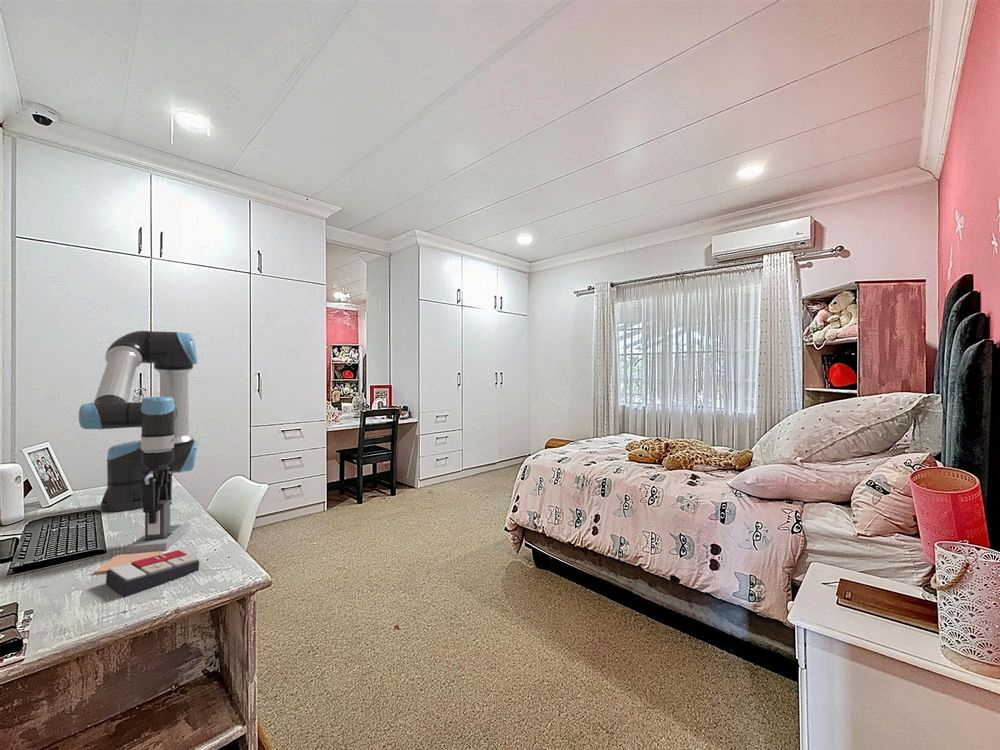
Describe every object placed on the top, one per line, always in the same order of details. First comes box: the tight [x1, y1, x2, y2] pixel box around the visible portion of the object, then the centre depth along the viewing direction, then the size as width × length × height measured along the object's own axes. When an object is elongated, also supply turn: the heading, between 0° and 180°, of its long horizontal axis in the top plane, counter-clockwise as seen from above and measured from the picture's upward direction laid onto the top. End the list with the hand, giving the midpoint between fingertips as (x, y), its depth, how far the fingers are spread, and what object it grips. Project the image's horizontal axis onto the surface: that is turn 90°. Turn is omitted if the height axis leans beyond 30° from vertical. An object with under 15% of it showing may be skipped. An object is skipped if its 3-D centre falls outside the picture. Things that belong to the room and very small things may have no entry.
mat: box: [93, 551, 162, 575], centre depth 113 cm, size 10×10×1 cm
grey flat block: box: [127, 523, 191, 554], centre depth 127 cm, size 16×9×2 cm, turn 16°
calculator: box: [105, 550, 200, 598], centre depth 105 cm, size 11×4×15 cm
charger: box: [144, 500, 171, 541], centre depth 125 cm, size 4×4×12 cm
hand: (157, 530), depth 125 cm, fingers closed on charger, 4 cm apart
